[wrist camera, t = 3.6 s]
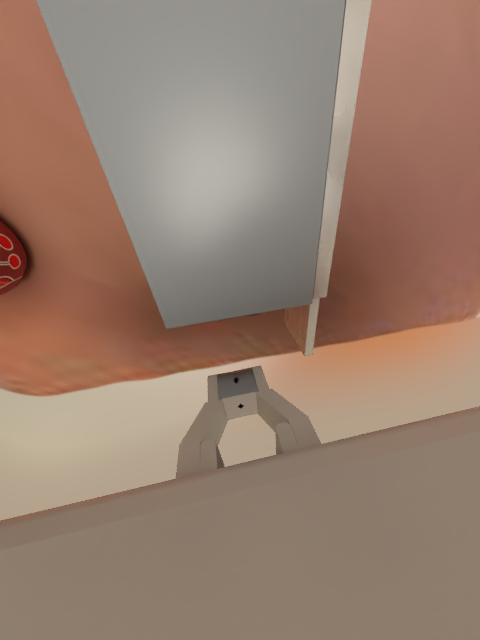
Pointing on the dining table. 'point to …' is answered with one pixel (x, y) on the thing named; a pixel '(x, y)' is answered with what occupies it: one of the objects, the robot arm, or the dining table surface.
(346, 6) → the side door
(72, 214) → the dining table surface
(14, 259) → the smoothie
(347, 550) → the robot arm
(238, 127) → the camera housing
